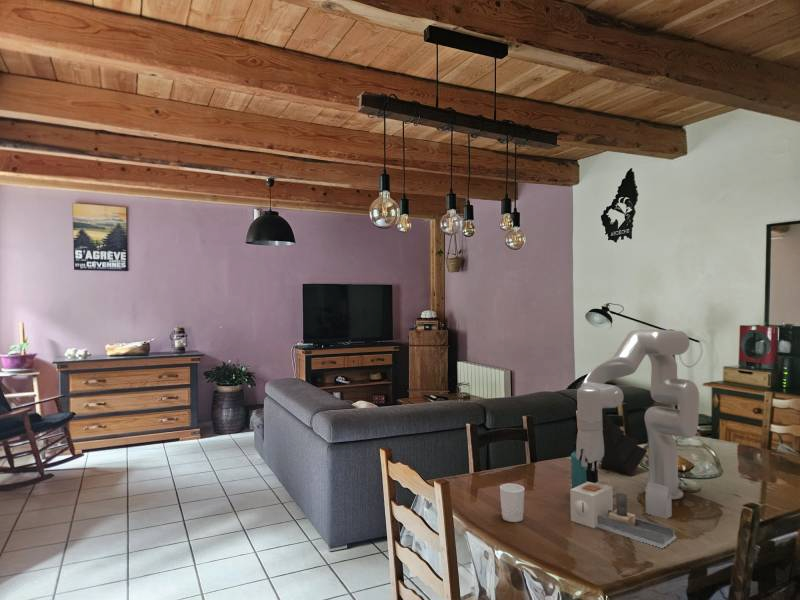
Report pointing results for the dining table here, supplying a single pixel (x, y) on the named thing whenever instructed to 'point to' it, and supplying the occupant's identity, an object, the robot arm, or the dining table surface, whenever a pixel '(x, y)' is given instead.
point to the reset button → (591, 488)
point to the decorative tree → (619, 449)
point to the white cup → (512, 502)
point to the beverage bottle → (577, 470)
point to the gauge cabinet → (590, 504)
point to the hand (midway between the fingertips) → (592, 481)
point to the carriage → (622, 511)
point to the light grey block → (658, 500)
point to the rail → (639, 530)
